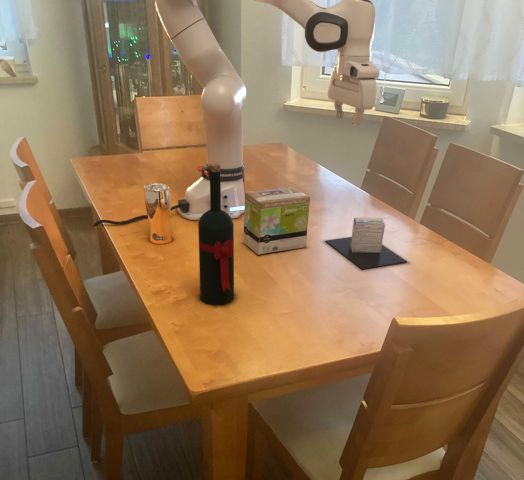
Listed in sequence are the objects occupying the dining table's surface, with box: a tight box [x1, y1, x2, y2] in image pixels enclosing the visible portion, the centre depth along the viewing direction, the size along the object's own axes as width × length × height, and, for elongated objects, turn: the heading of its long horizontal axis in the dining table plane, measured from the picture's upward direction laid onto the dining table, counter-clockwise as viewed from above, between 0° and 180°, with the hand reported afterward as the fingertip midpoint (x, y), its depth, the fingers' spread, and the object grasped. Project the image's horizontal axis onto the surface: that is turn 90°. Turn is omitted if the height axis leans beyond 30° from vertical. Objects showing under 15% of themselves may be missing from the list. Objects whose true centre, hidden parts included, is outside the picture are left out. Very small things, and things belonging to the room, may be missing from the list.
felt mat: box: [325, 236, 408, 271], centre depth 151 cm, size 14×20×1 cm
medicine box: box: [351, 216, 386, 253], centre depth 148 cm, size 8×4×9 cm, turn 89°
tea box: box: [242, 186, 311, 256], centre depth 148 cm, size 15×10×15 cm, turn 118°
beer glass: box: [143, 182, 173, 245], centre depth 149 cm, size 7×7×15 cm
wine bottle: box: [197, 164, 235, 306], centre depth 117 cm, size 8×10×30 cm
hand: (347, 121), depth 155 cm, fingers open, 8 cm apart
